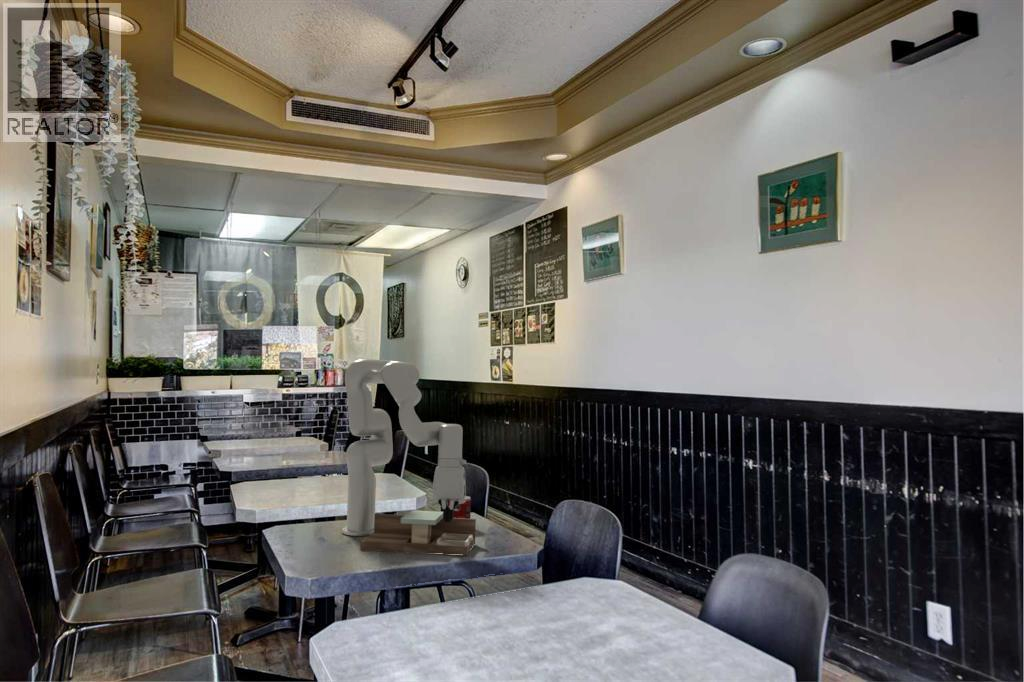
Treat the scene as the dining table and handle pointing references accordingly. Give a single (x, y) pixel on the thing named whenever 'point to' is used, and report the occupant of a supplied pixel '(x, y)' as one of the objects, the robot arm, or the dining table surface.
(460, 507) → the canned food
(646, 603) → the dining table surface
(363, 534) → the robot arm
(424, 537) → the beech block
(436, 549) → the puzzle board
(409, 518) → the sliding cover
